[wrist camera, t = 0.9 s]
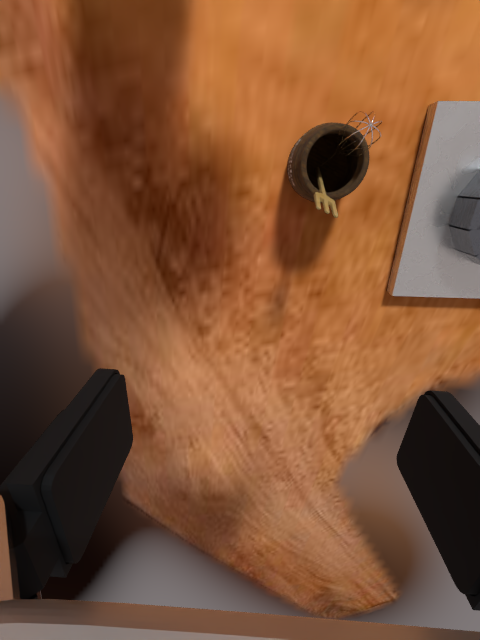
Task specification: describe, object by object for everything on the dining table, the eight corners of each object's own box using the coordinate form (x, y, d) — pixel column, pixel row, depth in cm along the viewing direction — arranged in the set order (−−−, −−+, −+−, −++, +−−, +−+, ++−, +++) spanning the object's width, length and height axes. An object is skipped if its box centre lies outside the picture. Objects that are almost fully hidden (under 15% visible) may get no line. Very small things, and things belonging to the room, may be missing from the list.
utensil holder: (362, 146, 28) (429, 126, 17) (328, 213, 31) (367, 232, 20) (304, 117, 27) (336, 77, 17) (274, 188, 30) (284, 194, 19)
